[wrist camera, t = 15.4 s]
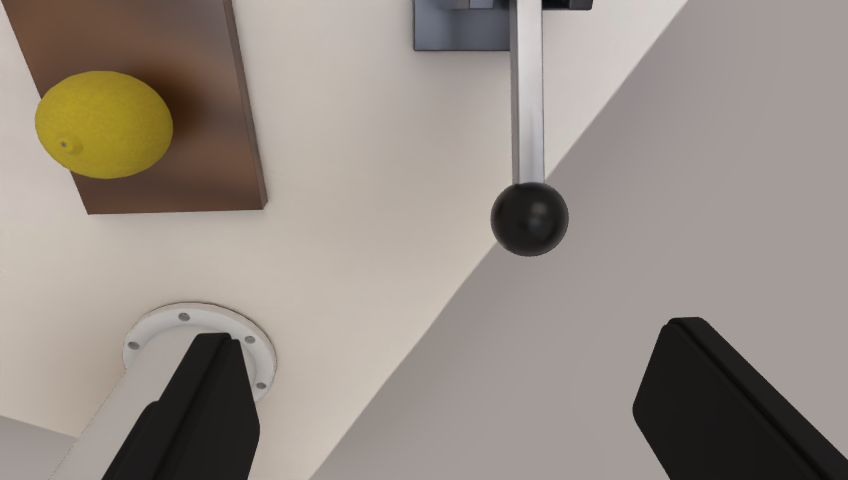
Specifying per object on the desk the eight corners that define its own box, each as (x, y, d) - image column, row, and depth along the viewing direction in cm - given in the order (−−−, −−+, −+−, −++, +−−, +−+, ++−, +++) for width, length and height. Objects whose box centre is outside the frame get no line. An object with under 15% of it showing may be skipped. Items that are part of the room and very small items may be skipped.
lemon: (202, 89, 27) (138, 117, 20) (182, 166, 29) (117, 216, 22) (105, 45, 25) (-2, 59, 18) (91, 130, 27) (-10, 172, 20)
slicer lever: (551, 251, 20) (582, 258, 17) (484, 254, 20) (502, 262, 16) (548, -61, 19) (579, -117, 16) (477, -63, 19) (494, -120, 16)
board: (267, 201, 32) (262, 209, 31) (100, 206, 31) (87, 214, 30) (228, -15, 25) (220, -16, 24) (13, -17, 25) (-7, -19, 23)
